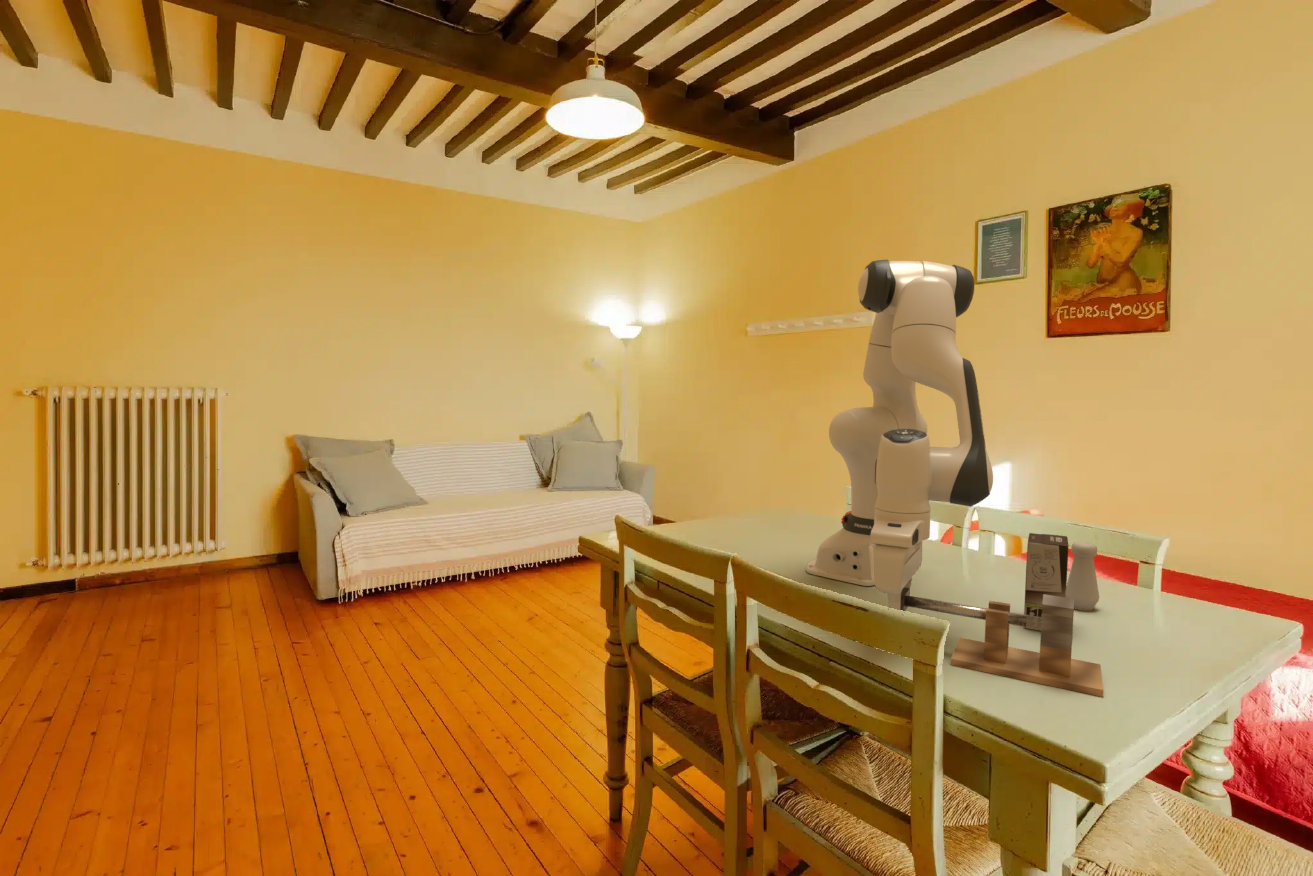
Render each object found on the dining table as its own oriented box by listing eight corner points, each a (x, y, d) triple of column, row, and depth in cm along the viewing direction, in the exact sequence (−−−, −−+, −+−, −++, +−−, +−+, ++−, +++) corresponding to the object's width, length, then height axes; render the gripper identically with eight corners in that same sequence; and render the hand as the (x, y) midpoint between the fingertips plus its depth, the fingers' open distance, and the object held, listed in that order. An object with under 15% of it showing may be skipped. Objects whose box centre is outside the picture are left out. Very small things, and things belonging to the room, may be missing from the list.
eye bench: (950, 664, 103) (953, 594, 102) (959, 643, 112) (961, 578, 111) (1103, 696, 93) (1107, 619, 92) (1100, 670, 101) (1104, 599, 100)
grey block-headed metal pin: (888, 611, 110) (889, 593, 110) (895, 602, 114) (895, 586, 114) (1025, 635, 99) (1026, 616, 99) (1026, 625, 104) (1027, 607, 103)
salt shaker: (1104, 613, 126) (1108, 547, 124) (1071, 611, 127) (1074, 546, 126) (1090, 603, 131) (1094, 540, 130) (1059, 601, 132) (1062, 538, 131)
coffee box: (1064, 635, 115) (1069, 546, 113) (1022, 628, 118) (1026, 541, 117) (1064, 619, 123) (1068, 535, 121) (1024, 613, 126) (1029, 531, 125)
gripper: (896, 512, 121) (893, 585, 122) (867, 535, 104) (865, 619, 105) (932, 516, 117) (929, 591, 119) (909, 540, 100) (906, 627, 101)
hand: (899, 604), depth 112 cm, fingers closed on grey block-headed metal pin, 5 cm apart
